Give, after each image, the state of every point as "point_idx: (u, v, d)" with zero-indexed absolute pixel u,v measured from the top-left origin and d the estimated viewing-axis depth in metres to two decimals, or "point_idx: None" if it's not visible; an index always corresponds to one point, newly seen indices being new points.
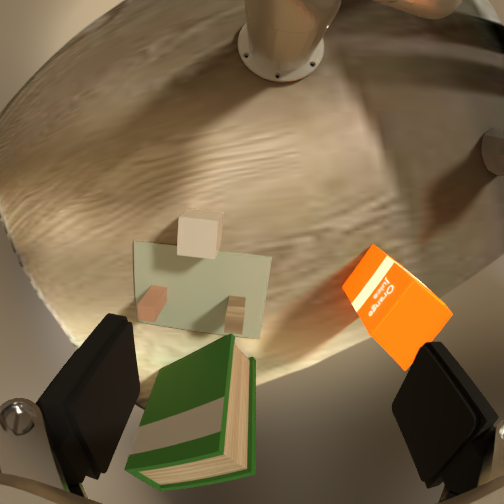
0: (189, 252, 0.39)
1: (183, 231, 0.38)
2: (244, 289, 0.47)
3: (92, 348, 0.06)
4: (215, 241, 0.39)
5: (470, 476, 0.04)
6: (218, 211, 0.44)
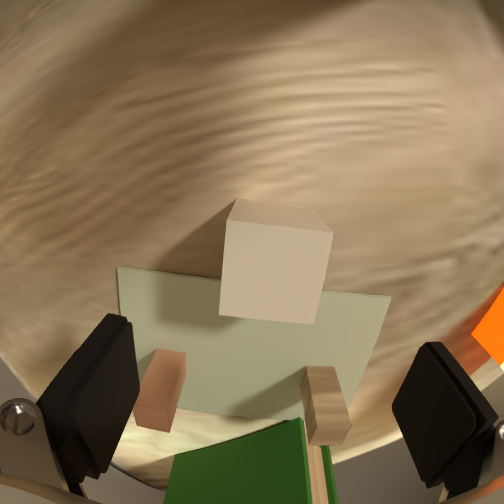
0: (250, 310, 0.16)
1: (238, 258, 0.15)
2: (334, 354, 0.24)
3: (92, 348, 0.06)
4: (320, 283, 0.15)
5: (470, 476, 0.04)
6: (301, 208, 0.20)
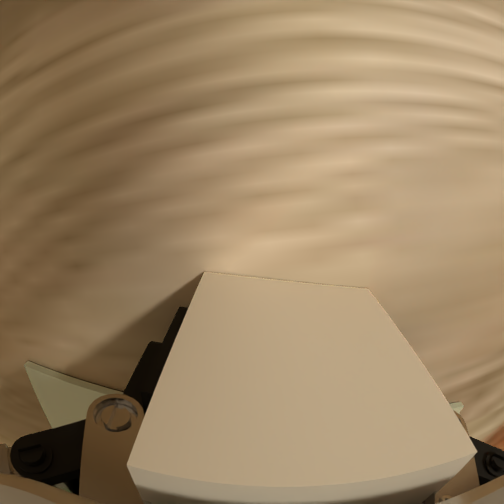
0: None
1: None
2: None
3: None
4: None
5: None
6: (350, 292, 0.09)
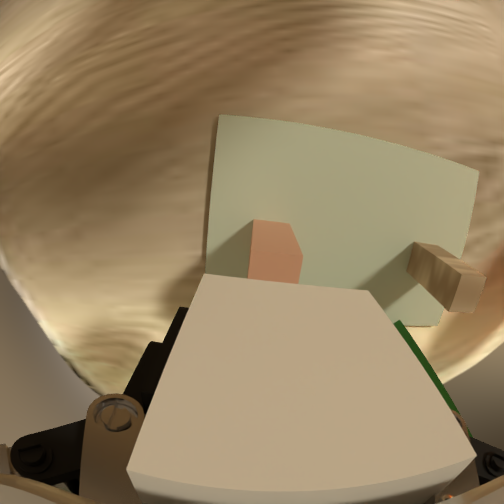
0: None
1: None
2: (438, 228, 0.21)
3: None
4: None
5: None
6: (350, 294, 0.09)
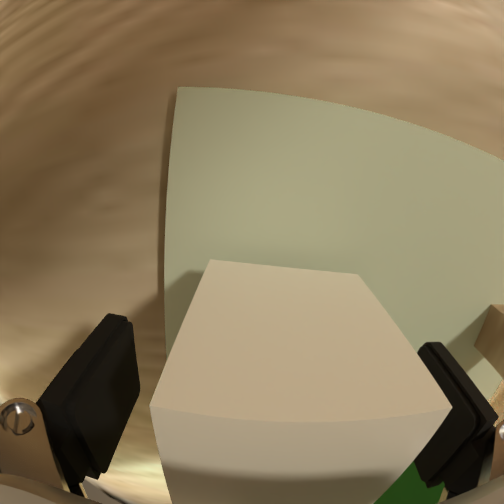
0: None
1: (200, 471, 0.04)
2: None
3: (92, 348, 0.06)
4: (389, 482, 0.05)
5: (470, 476, 0.04)
6: (341, 277, 0.10)
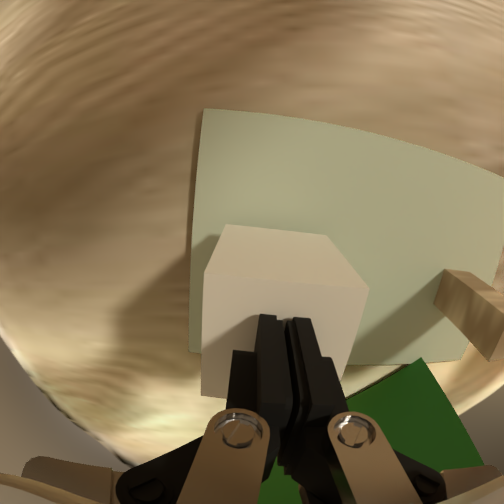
0: None
1: (225, 328, 0.09)
2: (471, 252, 0.16)
3: (273, 346, 0.07)
4: (345, 357, 0.10)
5: (325, 485, 0.05)
6: (313, 235, 0.15)
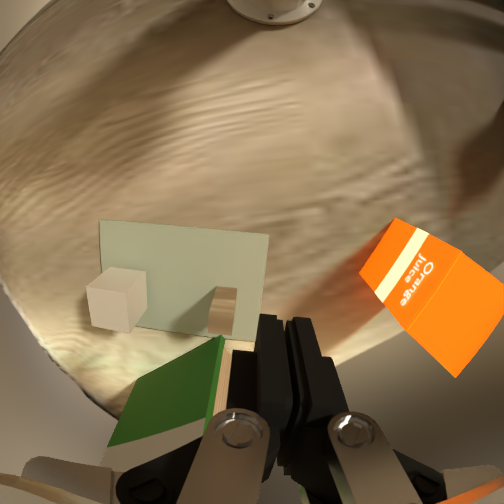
0: (103, 325, 0.31)
1: (93, 302, 0.30)
2: (235, 277, 0.37)
3: (273, 346, 0.07)
4: (126, 314, 0.31)
5: (325, 485, 0.05)
6: (139, 271, 0.36)
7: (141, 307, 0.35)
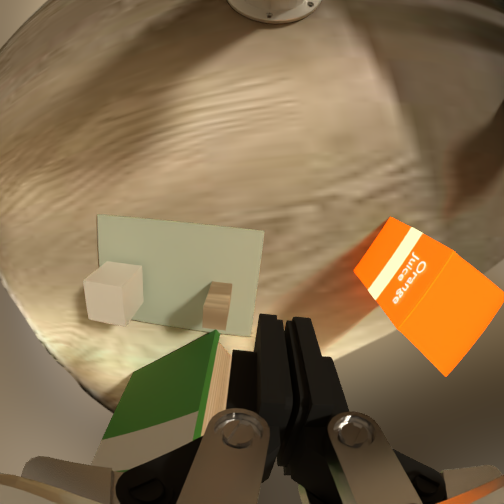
0: (99, 318, 0.32)
1: (90, 296, 0.31)
2: (230, 273, 0.38)
3: (273, 346, 0.07)
4: (122, 308, 0.31)
5: (325, 485, 0.05)
6: (135, 266, 0.36)
7: (137, 301, 0.36)
